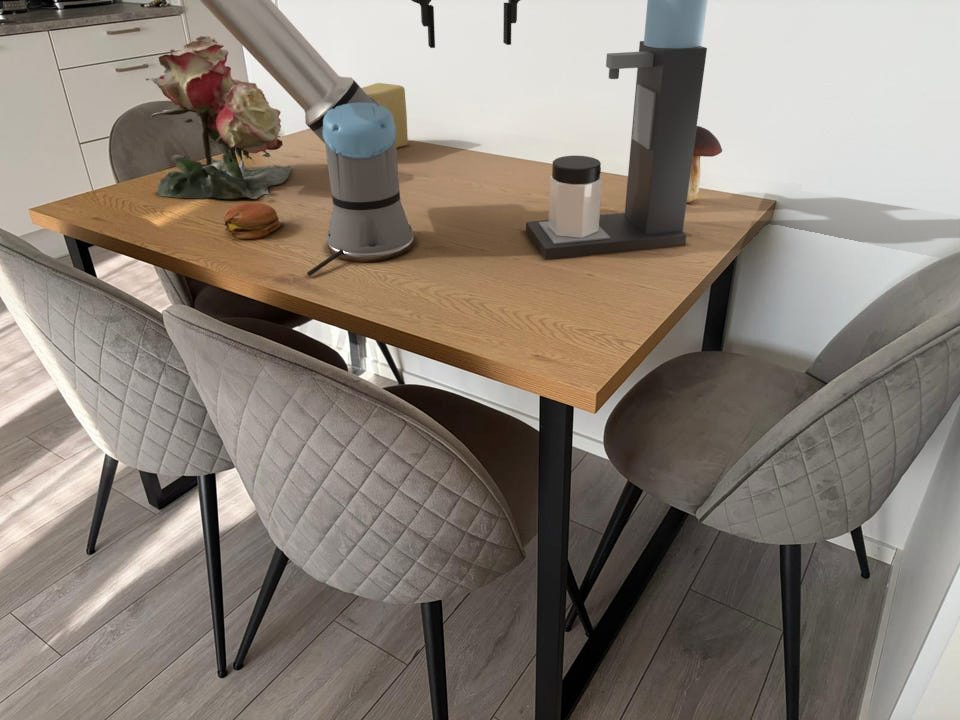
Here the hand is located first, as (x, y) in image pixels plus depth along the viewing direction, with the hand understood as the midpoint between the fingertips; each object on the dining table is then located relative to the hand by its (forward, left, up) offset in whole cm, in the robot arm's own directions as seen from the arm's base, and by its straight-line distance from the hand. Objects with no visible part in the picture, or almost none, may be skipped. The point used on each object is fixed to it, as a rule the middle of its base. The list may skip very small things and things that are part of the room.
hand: (469, 45), depth 129 cm
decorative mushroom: (+26, -34, -31) cm, 53 cm away
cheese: (+21, +46, -31) cm, 59 cm away
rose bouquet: (-11, +57, -31) cm, 66 cm away
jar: (-4, -24, -28) cm, 37 cm away
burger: (-30, +30, -31) cm, 52 cm away
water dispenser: (0, -28, -30) cm, 42 cm away
